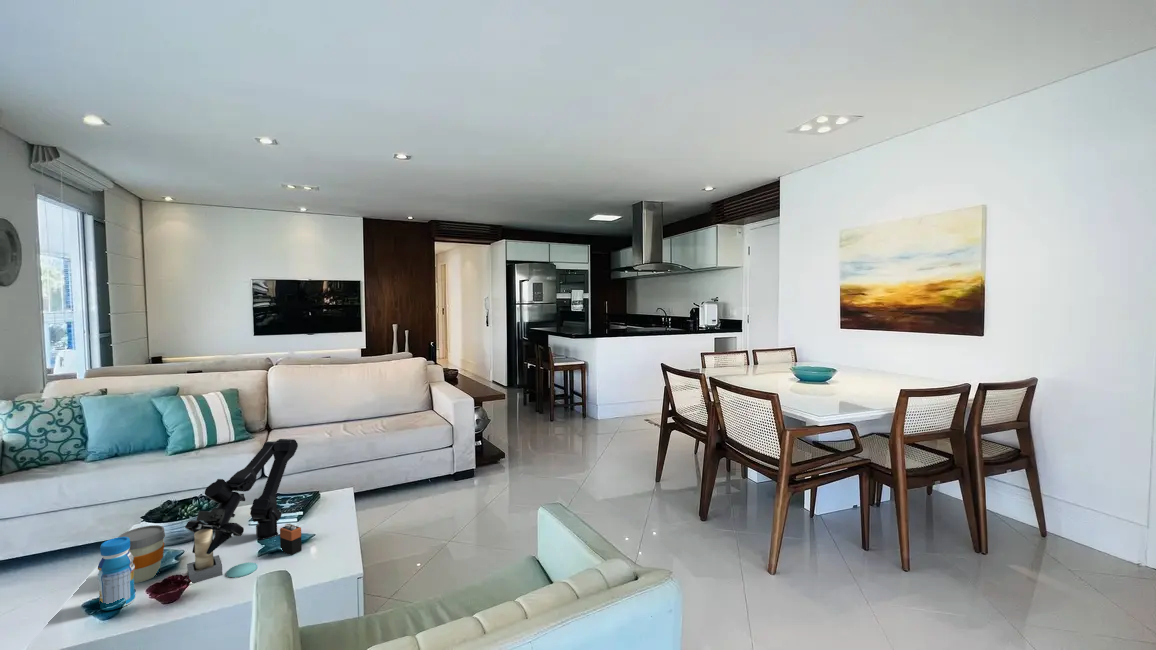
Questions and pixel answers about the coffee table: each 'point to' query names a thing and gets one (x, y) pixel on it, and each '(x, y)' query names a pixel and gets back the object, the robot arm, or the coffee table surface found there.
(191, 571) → the socket block
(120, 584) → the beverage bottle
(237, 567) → the mat
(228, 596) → the coffee table surface
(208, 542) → the plug
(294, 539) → the battery
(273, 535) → the robot arm
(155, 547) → the reusable coffee cup
